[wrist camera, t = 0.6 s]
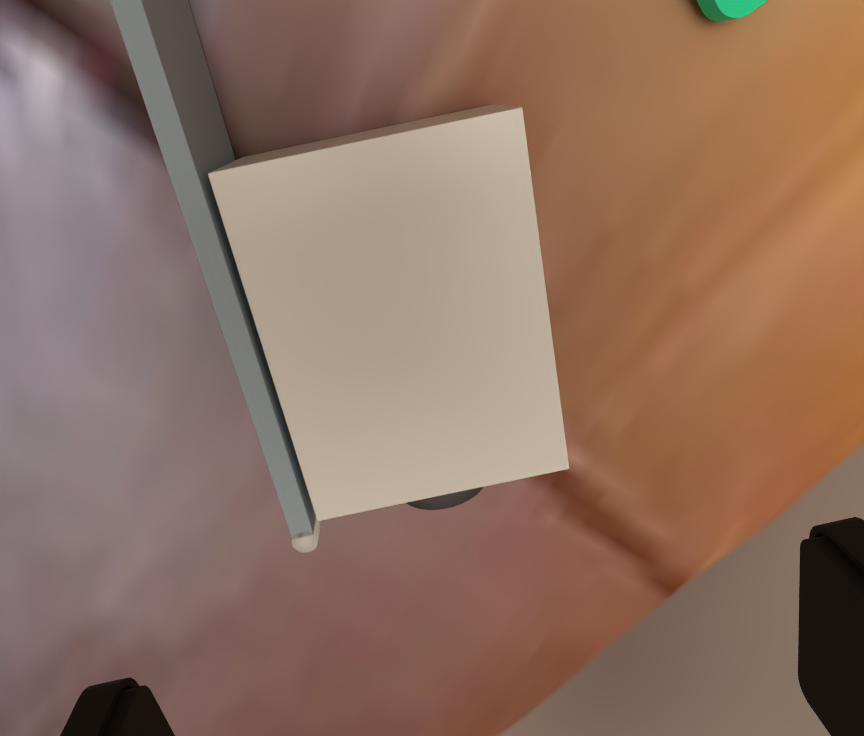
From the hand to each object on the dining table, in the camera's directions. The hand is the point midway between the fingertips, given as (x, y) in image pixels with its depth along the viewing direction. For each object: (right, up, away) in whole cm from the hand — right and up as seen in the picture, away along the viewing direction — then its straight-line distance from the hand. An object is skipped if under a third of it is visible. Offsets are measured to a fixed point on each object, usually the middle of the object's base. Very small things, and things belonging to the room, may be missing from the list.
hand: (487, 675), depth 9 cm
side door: (-10, +11, +23) cm, 27 cm away
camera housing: (-2, +8, +25) cm, 26 cm away
